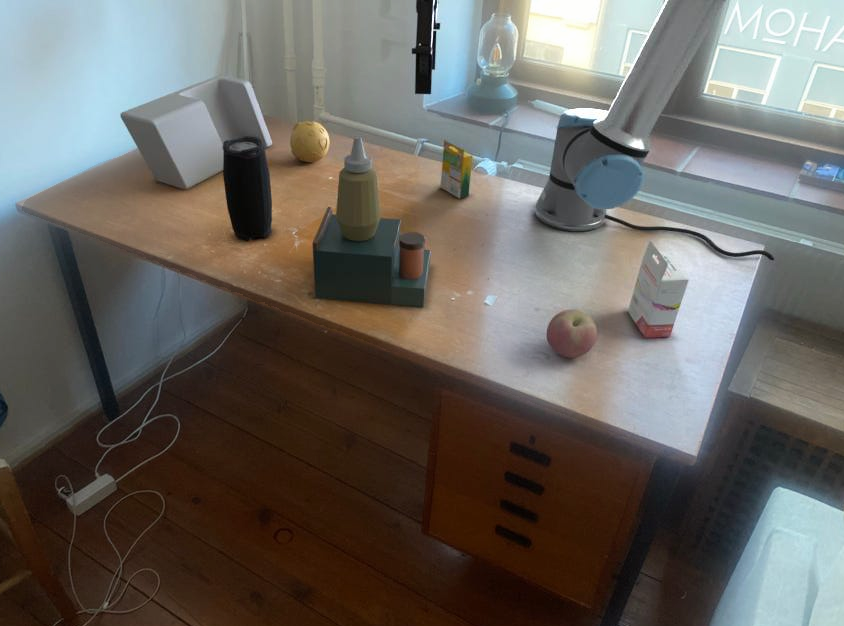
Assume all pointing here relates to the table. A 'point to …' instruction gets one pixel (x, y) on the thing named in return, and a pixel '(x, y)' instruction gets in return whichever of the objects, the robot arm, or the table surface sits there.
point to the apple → (571, 333)
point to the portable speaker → (247, 187)
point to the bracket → (195, 128)
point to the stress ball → (309, 141)
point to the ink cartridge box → (657, 294)
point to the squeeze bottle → (358, 196)
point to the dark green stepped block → (364, 266)
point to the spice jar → (411, 255)
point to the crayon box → (456, 170)
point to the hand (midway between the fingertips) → (425, 80)
